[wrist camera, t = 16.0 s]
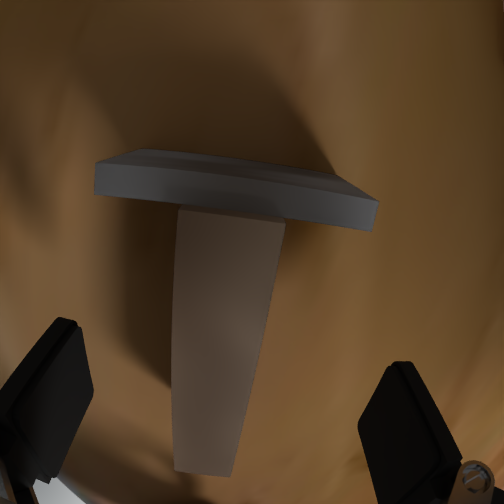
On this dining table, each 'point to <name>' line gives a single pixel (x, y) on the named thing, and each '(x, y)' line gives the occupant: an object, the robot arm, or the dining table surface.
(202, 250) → the scraper
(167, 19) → the dining table surface
